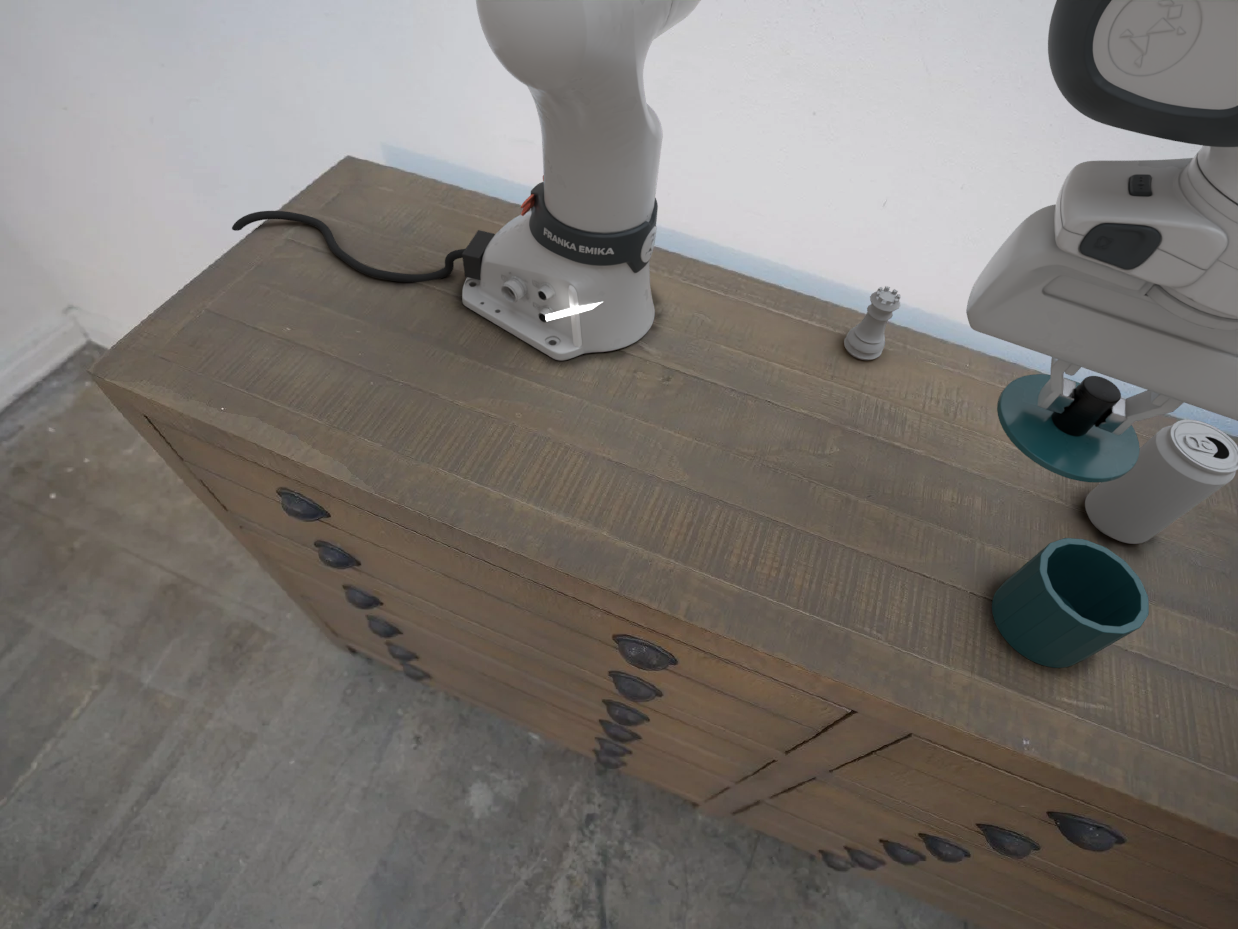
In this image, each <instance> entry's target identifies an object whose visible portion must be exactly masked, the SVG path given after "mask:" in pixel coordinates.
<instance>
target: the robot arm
mask: <svg viewBox="0 0 1238 929" xmlns="http://www.w3.org/2000/svg"><path fill="white" fill-rule="evenodd" d="M701 1H702V0H475V3H476V4H475V5H476V10H477V17H478V20H479V23H480V27H481V30H482V33H483V35H484V38H485V40H486V42H487V44H488V47H489V48H490V50H491V51H492V53H493V55H494V56H495V58H496V59H497V60H498V62H499V63H500V65H501V66H502V67H503V68H504V69H505V70H506V71H507V72H508V74H510V75H511V76H512V77H513V78H514V79H516V80H517V81H519V82H520V83H522V85H525V86H526V87H527V89H528V90H529V92H530V95H531V97H532V99H533V103H534V105H535V109H536V112H537V116H538V120H539V126H540V132H541V148H542V149H541V150H542V169H543V171H542V172H543V173H542V181H541V182H539V183H537V184H536V185H535V186H534V187H533V188H532V189H531V190H530V195H529V196H528V197H527V198H526V199H525V200H523V202H522V204H521V205H520V209H522V210H521V213H520V214H519V215H517V216H516V217H514V218H512V219H510V220H509V221H508V222H506V223H505V224H504V225H503V226H502V227H501V228H500V229H498V231H497V232H496V233H493V232H488V231H484V230H480V229H478V230H477V231H476V233H475V234H474V235H473V237H472V239H471V240H470V241H469V243H468V244H467V246H466V248H461V249H454V250H452V251H450V252H449V253H447V254H446V256H445V258H444V267H442V268H441V269H438V270H436V271H432V272H428V273H421V274H420V273H417V274H415V273H402V272H395V271H387V270H383V269H378V268H374V267H371V266H368V265H366V264H363V263H362V262H360V261H359V260H357V259H355V258H354V257H352V256H351V255H350V254H348V253H347V252H346V251H344V249H342V248H341V247H340V246H339V244H338V243H337V241H336V239H335V237H334V235H333V233H332V230H331V229H330V227H329V226H328V225H327V224H325V223H324V222H323V221H322V220H320V219H318V218H316V217H313V216H310V215H307V214H302V213H298V212H293V211H286V210H284V211H283V210H261V211H256V212H255V211H254V212H251V213H248V214H246V215H244V216H242V217H240V218H239V219H237V220H236V221H235V222H234V223H233V225H232V226H231V230H232V231H236V232H237V231H241V230H243V228H245V227H246V226H248V225H250V224H252V223H257V222H259V221H264V220H265V221H266V220H283V221H291V222H292V221H293V222H297V223H302V224H306V225H309V226H312V227H315V228H317V229H318V230H319V231H320V232H321V233H322V236H323V237H324V239H325V241H326V244H327V246H328V248H329V249H330V251H331V252H332V253H333V254H334V255H335V256H336V257H337V258H339V259H340V260H342V261H343V262H344V263H346V264H347V265H348V266H350V267H351V268H353V269H354V270H356V271H357V272H360V273H361V274H364V275H366V276H369V277H371V278H375V279H379V280H384V281H385V280H386V281H391V282H398V283H407V284H408V283H409V284H410V283H412V284H413V283H422V282H427V281H428V282H429V281H435V280H436V281H437V280H441V279H444V278H446V277H448V276H450V275H451V273H453V271H454V268H455V267H454V264H455V263H454V261H456V260H458V259H462V264H463V265H462V266H463V271H464V272H463V274H464V278H465V281H464V283H463V286H462V291H461V296H462V297H461V298H462V300H461V303H462V304H463V305H464V307H466V308H468V309H469V310H470V311H472V312H475V313H476V314H477V315H479V316H481V317H482V318H484V319H486V320H488V321H490V322H491V323H493V324H494V325H496V326H498V327H500V328H501V329H502V330H505V331H506V332H508V333H509V334H511V335H513V336H515V337H516V338H518V339H520V341H521V340H522V341H523V342H524V343H526V344H527V345H530V346H531V347H533V348H535V349H536V350H538V351H539V352H541V353H543V354H545V355H547V356H548V357H550V358H552V359H553V360H556V361H567V360H570V359H573V358H577V357H578V356H579V357H580V356H582V355H583V354H591V353H604V352H612V351H616V350H619V349H620V350H621V349H623V348H626V347H628V346H631V345H633V344H635V343H637V341H639V340H641V339H642V338H644V337H645V335H646V334H647V333H649V331H650V330H651V328H652V326H653V323H654V321H655V316H656V311H655V310H656V309H655V305H654V300H653V294H652V289H651V273H650V272H651V270H650V269H651V268H650V266H651V265H650V264H651V263H650V261H651V258H652V255H653V253H654V249H655V243H656V238H657V232H658V231H657V230H658V227H657V219H658V209H659V205H658V200H657V198H656V193H657V187H658V179H659V178H658V176H659V170H660V161H661V155H662V154H661V153H662V152H661V151H662V144H663V138H664V134H663V132H664V131H663V127H662V122H661V120H660V117H659V116H658V114H657V112H656V111H655V110H654V109H653V107H652V106H650V104H648V103H647V98H646V92H645V84H644V83H645V82H644V68H645V62H646V58H647V55H648V52H649V50H650V47H651V45H652V43H653V42H654V40H655V39H657V38H659V37H660V36H662V35H663V34H664V33H666V32H667V31H669V30H670V29H671V28H673V27H675V26H676V25H677V24H679V23H680V22H682V21H684V20H685V19H686V18H687V17H688V16H690V14H691V13H692V12H693V11H694V10H696V8H697V6H698V5H699V4H700V2H701ZM1048 26H1049V28H1048V35H1047V36H1048V37H1047V55H1048V63H1049V67H1050V72H1051V75H1052V78H1053V80H1054V82H1055V85H1056V87H1057V89H1058V90H1059V91H1060V93H1061V95H1062V97H1063V98H1064V99H1065V100H1066V101H1067V102H1068V104H1070V105H1071V106H1072V107H1073V108H1074V109H1075V110H1076V111H1077V112H1078V113H1080V114H1082V115H1083V116H1085V117H1087V118H1089V119H1090V120H1092V121H1094V122H1097V123H1100V124H1103V125H1106V126H1110V127H1113V128H1116V129H1120V130H1124V131H1128V132H1132V133H1136V134H1139V135H1143V136H1144V135H1145V136H1149V137H1154V138H1158V139H1163V140H1167V141H1172V142H1178V143H1183V144H1184V143H1185V144H1189V145H1196V146H1201V147H1200V149H1199V150H1198V152H1196V154H1195V155H1194V156H1193V157H1185V158H1184V157H1183V158H1170V159H1145V160H1144V159H1143V160H1142V159H1141V160H1138V159H1137V160H1136V159H1135V160H1088V161H1083V162H1079V163H1078V164H1076V165H1075V166H1074V167H1073V168H1072V169H1071V170H1070V171H1069V172H1068V174H1067V176H1066V177H1065V179H1064V181H1063V184H1062V185H1061V187H1060V190H1059V192H1058V195H1057V199H1056V201H1055V204H1051V205H1048V206H1045V207H1042V208H1039V209H1038V210H1036V211H1034V212H1032V213H1031V214H1030V215H1029V216H1027V217H1026V218H1025V219H1024V220H1023V221H1022V222H1021V223H1020V224H1019V225H1018V226H1017V227H1016V228H1015V229H1014V230H1013V231H1012V232H1011V233H1010V235H1009V236H1008V237H1007V238H1006V239H1005V241H1004V242H1003V243H1002V244H1001V245H1000V246H999V248H998V249H997V251H995V253H994V254H993V256H992V257H991V258H990V260H989V261H988V262H987V263H986V265H985V267H984V268H983V269H982V271H981V272H980V274H979V275H978V277H977V278H976V280H975V282H974V284H973V285H972V287H971V290H970V293H969V295H968V299H967V304H966V312H965V313H966V317H967V321H968V324H969V327H970V328H971V329H972V330H973V331H975V332H978V333H981V334H984V335H987V336H990V337H993V338H996V339H999V340H1002V341H1004V342H1007V343H1010V344H1013V345H1016V346H1019V347H1021V348H1024V349H1028V350H1030V351H1034V352H1037V353H1039V354H1041V355H1045V356H1049V357H1050V358H1051V360H1050V375H1051V378H1050V380H1049V381H1048V382H1047V383H1046V384H1045V385H1044V387H1043V388H1042V389H1041V391H1040V393H1039V396H1038V404H1037V406H1038V407H1041V408H1044V409H1046V410H1049V411H1052V412H1055V413H1058V414H1062V413H1063V412H1064V411H1065V407H1067V406H1069V405H1070V404H1071V403H1072V402H1073V401H1074V400H1075V392H1074V390H1075V389H1076V382H1077V381H1076V382H1074V381H1075V380H1073V381H1071V380H1072V379H1070V378H1067V377H1065V375H1068V376H1070V377H1071V376H1075V375H1076V374H1077V373H1078V372H1079V371H1080V370H1081V368H1083V369H1085V370H1089V371H1091V372H1094V373H1097V374H1099V375H1100V374H1101V375H1104V376H1107V377H1109V378H1112V379H1115V380H1118V381H1121V382H1123V383H1127V384H1129V385H1132V386H1135V387H1138V388H1141V389H1144V390H1145V391H1142V392H1140V393H1137V394H1134V395H1131V396H1129V397H1127V398H1123V397H1121V398H1120V400H1119V401H1118V402H1117V403H1116V404H1115V405H1114V406H1113V407H1112V408H1111V409H1110V410H1109V411H1108V412H1107V413H1106V414H1105V415H1104V416H1103V417H1102V418H1101V419H1100V420H1099V421H1098V422H1097V423H1096V424H1095V427H1098V428H1100V429H1103V430H1105V431H1108V432H1111V433H1113V434H1116V435H1121V434H1122V433H1123V432H1124V431H1125V430H1127V429H1128V428H1129V427H1130V426H1131V425H1132V426H1133V424H1135V423H1136V422H1141V421H1146V420H1149V419H1153V418H1156V417H1159V416H1163V415H1166V414H1169V413H1171V414H1172V413H1174V412H1175V411H1176V410H1177V409H1178V408H1179V407H1180V406H1182V405H1183V404H1184V403H1185V404H1188V405H1190V406H1192V407H1196V408H1199V409H1202V410H1205V411H1208V412H1211V413H1213V414H1217V415H1219V416H1221V417H1225V418H1227V419H1231V420H1233V421H1236V422H1238V0H1055V4H1054V6H1053V10H1052V14H1051V17H1050V22H1049V25H1048ZM1066 378H1067V379H1066ZM1069 379H1070V380H1069Z"/></svg>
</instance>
